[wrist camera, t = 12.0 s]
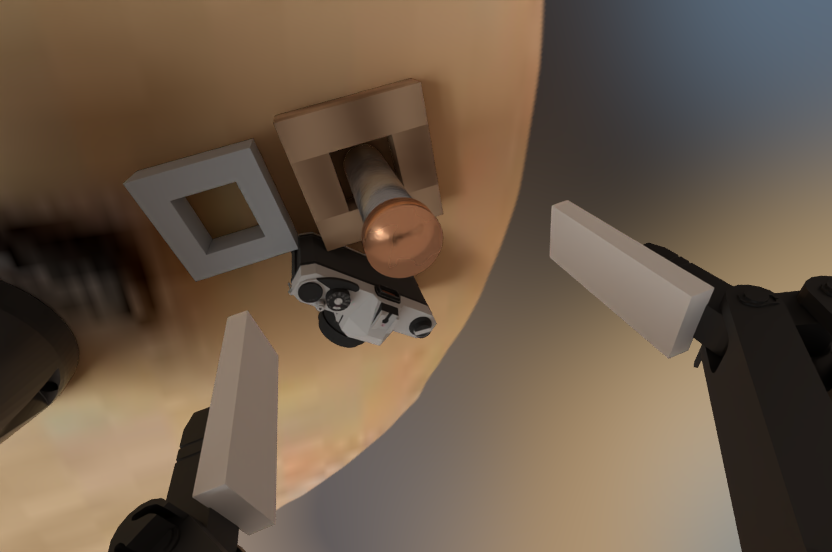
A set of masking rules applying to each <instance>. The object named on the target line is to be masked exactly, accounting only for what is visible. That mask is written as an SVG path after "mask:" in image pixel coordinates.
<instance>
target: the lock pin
mask: <svg viewBox="0 0 832 552" xmlns="http://www.w3.org/2000/svg"><path fill="white" fill-rule="evenodd" d="M344 171H345V174H346V176H347V179H348V182H349V185H350V188H351V190H352V193H353V196H354V199H355V202H356V204H357V207H358V210H359V213H360V216H361V218H362V221H363V227H362V233H361V238H362V244H363V247H364V250H365V253H366V256H367V259H368V261H369V263H370V264H371V266H372V267H373V268H374V269H375V270H376V271H378V272H379V273H381V274H383V275H385V276H388V277H393V278H406V277H410V276H414V275H416V274H418V273H420V272H422V271H424V270H425V269H427V268H428V267H429V266H430V265H431V264H432V263H433V262H434V261H435V260H436V258H437V257H438V255H439V253H440V251H441V248H442V244H443V232H442V228H441V225H440V223H439V222H438V220H437V219H436V217H435V216H434V215H433V213H432V212H431V211H430V210H429V208H428V207H427V206H426V205H424V204H423V203H422V202H420V201H418V200H416V199H412V197H411V196H410V195H409V193H408V192H407V190H406V189H405V187H404V186H403V185H402V183H401V182H400V180H399V179H398V178H397V176H396V175H395V173H394V172H393V170H392V169H391V168H390V166H389V165H388V163H387V162H386V160H385V159H384V158H383V156H382V155H381V153H380V152H379V151H378V150H377V149H376V148H375V147H373V146H370V145H367V144H361V145H357V146H355V147H353V148H351V149H350V150H349V151H348V152H347V154H346V156H345V158H344Z"/></svg>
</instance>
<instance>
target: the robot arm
mask: <svg viewBox="0 0 832 552" xmlns="http://www.w3.org/2000/svg"><path fill="white" fill-rule="evenodd" d="M550 258H551V259H552V260H554V261H555V262H556V263H557V264H558V265H559V266H561V267H562V268H563V269H564V270H565V271H566V272H568V273H569V274H570V275H571V276H572V277H573V278H575V279H576V280H577V281H578V282H579V283H581V284H582V285H583V286H584V287H585V288H586V289H587V290H589V291H590V292H591V293H592V294H594V296H596V297H597V298H598V299H599V300H600V301H602V302H603V303H604V304H605V305H606V306H607V307H609V308H610V309H611V310H612V311H613V312H615V313H616V314H617V315H618V316H619V317H620V318H622V319H623V320H624V321H625V322H626V323H627V324H629V325H630V326H631V327H632V328H633V329H634V330H636V331H637V332H638V333H639V334H640V335H641V336H643V337H644V338H645V339H646V340H647V341H649V342H650V343H651V344H652V345H653V346H654V347H655V348H657V349H658V350H659V351H660V352H662V353H663V354H664V355H665V356H666V357H667V358H671V357H674V356H676V355H678V354H681V353H683V352H685V351H688V349H689V347H690V345H691V342H692V340H693V338H695V339H696V340H698V341H699V342H700V343H701V344H702V346H701V348H700V350H699V353H698V355H697V357H696V359H695V361H694V367H696V368H698V366H699V364H700V362H701V361H702V363H703V368H704V372H705V377H706V382H707V387H708V392H709V396H710V401H711V406H712V411H713V416H714V420H715V425H716V430H717V435H718V439H719V444H720V449H721V454H722V458H723V463H724V468H725V473H726V478H727V482H728V487H729V492H730V497H731V501H732V506H733V511H734V516H735V521H736V526H737V530H738V535H739V539H740V544H741V549H742V552H832V276H817V277H811V278H810V279H808V280H807V281H806V282H805V284H804V285H803V287H802V288H801V290H800V291H793V292H783V293H773V292H771V291H770V290H767V289H764V288H762V287H758V286H752V285H737V286H732V285H730V284H728V283H726V282H724V281H723V280H721V279H719V278H717V277H716V276H714V275H712V274H710V273H709V272H707V271H705V270H703V269H702V268H700V267H698V266H696V265H695V264H693V263H689V261H688V260H686V259H684V258H682V257H678V255H677V254H675V253H674V252H672V251H670V250H668V249H666V248H665V247H661V246H658V245H654V244H651V243H646V244H644V245H642V244H640V243H638V242H637V241H635V240H634V239H631V238H630V237H628V236H627V235H625V234H624V233H622V232H620V231H619V230H617V229H615V228H614V227H612V226H610V225H608V224H607V223H605V222H603V221H602V220H600V219H598V218H597V217H595V216H593V215H592V214H590V213H588V212H587V211H585V210H583V209H582V208H580V207H578V206H577V205H575V204H573V203H571V202H570V201H568V200H566V201H563V202H560V203H558V204H555V205H552V210H551V234H550ZM78 359H79V352H78V346H77V343H76V340H75V338H74V336H73V334H72V332H71V331H70V329H69V328H68V326H67V325H66V324H65V323H64V322H63V320H62V319H61V318H60V317H59V316H58V315H57V314H56V313H54V312H53V311H52V310H51V309H50V308H48V307H47V306H46V305H44V304H43V303H42V302H40V301H39V300H37V299H36V298H34V297H32V296H31V295H29V294H27V293H25V292H24V291H22V290H20V289H18V288H16V287H14V286H11V285H9V284H7V283H5V282H2V281H0V444H1V443H2V442H4V441H5V440H6V439H8V438H9V437H10V436H11V435H13V434H14V433H15V432H16V431H18V430H19V429H20V428H22V427H23V426H24V425H25V424H27V423H28V422H29V421H30V420H32V419H33V418H34V417H36V416H37V415H38V414H39V413H41V412H42V411H43V410H45V409H46V408H47V407H48V406H49V405H51V404H52V403H53V402H54V401H55V399H56V398H57V397H58V396H59V395H60V394H61V392H62V391H63V389H64V388H65V386H66V385H67V383H68V382H69V380H70V379H71V377H72V375H73V374H74V372H75V370H76V368H77V364H78ZM277 410H278V354H277V353H276V351H275V350H274V348H273V347H272V345H271V344H270V343H269V341H268V340H267V338H266V337H265V335H264V334H263V332H262V331H261V329H260V328H259V326H258V325H257V323H256V322H255V320H254V319H253V317H252V316H251V314H250V313H249V312H248V310H247V311H244V312H241V313H238V314H235V315H232V316H229V317H228V318H227V323H226V328H225V333H224V338H223V343H222V348H221V353H220V358H219V364H218V369H217V374H216V379H215V384H214V389H213V394H212V399H211V404H210V407H208V408H206V409H203V410H200V411H198V412H195V413H194V414H193V415H192V417H191V419H190V420H189V422H188V424H187V425H186V427H185V429H184V431H183V435H182V439H181V443H180V449H179V451H178V455H177V459H176V460H177V463H175V467H174V471H173V475H172V479H171V483H170V487H169V491H168V495H167V499H166V500H164V499H162V498H159V499H151V500H149V501H147V502H145V503H143V504H141V505H140V506H138V507H137V508H136V509H135V510H134V511H132V512H131V513H130V514H129V515H128V516H127V517H126V518H125V520H124V521H123V522H122V523H121V524H120V526H119V527H118V528H117V530H116V532H115V534H114V536H113V538H112V539H111V542H110V546H109V550H108V552H246V551H245V550H244V549H243V548H242V547H240V546H239V545H237V543H238V532H239V529H240V530H241V531H243V532H245V533H246V534H247V535H251V534H253V533H256V532H258V531H261V530H263V529H265V528H268V527H270V526H272V525H275V524H276V468H277Z"/></svg>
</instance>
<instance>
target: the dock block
mask: <svg viewBox="0 0 832 552" xmlns="http://www.w3.org/2000/svg"><path fill="white" fill-rule="evenodd" d="M273 124H274V126H275V129H276V131H277V133H278V136H279V138H280V141H281V143H282V145H283V148H284V150H285V152H286V155H287V157H288V159H289V162H290V164H291V166H292V169H293V171H294V174H295V176H296V178H297V181H298V183H299V185H300V188H301V190H302V192H303V195H304V197H305V199H306V202H307V204H308V207H309V209H310V211H311V214H312V216H313V218H314V221H315V223H316V225H317V228H318V230H319V232H320V235H321V237H322V240H323V242H324V244H325V247H326V249H327V251H330V250H333V249H337V248H340V247H343V246H346V245H349V244H352V243H355V242H358V241H361V240H362V238H361V233H362V227H363V221H362V218H361V216H360V213H359V210H358V207H357V204H356V202H355V199H354V197H352V198H349V199H345V196H344V193H343V191H342V188H341V185H340V182H339V179H338V176H337V173H336V170H335V168H334V165H333V162H332V159H331V156H330V152H334V151H337V150H340V149H344V148H347V147H351V146H354V145H358V144H361V143H364V142H368V141H371V140H375V139H378V138H382V137H385V136H387V138H388V142H389V146H390V150H391V154H392V159H393V163H394V167H395V171H396V175H397V178H398V179H399V180H400V182H401V183H402V185H403V186H404V187H405V189H406V190H407V192H408V193H409V195H410V196H411V197H412V199H416V200H418V201H420V202H422V203H423V204H424V205H426V206H427V207H428V208H429V210H430V211H431V212H432V213H433V215H434V216H435V217H436V216H439V215H442V214H443V209H442V203H441V197H440V191H439V186H438V180H437V174H436V168H435V162H434V156H433V150H432V144H431V139H430V133H429V127H428V121H427V115H426V109H425V103H424V97H423V92H422V86H421V82H420V81H417V80H414V79H412V78H410V79H406V80H403V81H399V82H395V83H392V84H388V85H385V86H381V87H377V88H374V89H370V90H366V91H363V92H359V93H356V94H352V95H348V96H345V97H341V98H338V99H334V100H330V101H327V102H323V103H319V104H316V105H312V106H309V107H305V108H301V109H298V110H294V111H291V112H287V113H283V114H280V115H276V116H275V117H274V122H273Z"/></svg>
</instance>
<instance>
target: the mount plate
mask: <svg viewBox="0 0 832 552" xmlns="http://www.w3.org/2000/svg"><path fill="white" fill-rule="evenodd" d="M233 182H236V183H237V185H238V187H239V188H240V190H241V192H242V194H243V196H244V198H245V200H246V201H247V203H248V205H249V207H250V209H251V211H252V213H253V215H254V216H255V218H256V220H257V222H258V224H259V225H257V226H254V227H251V228H248V229H244V230H241V231H238V232H235V233H231V234H228V235H225V236H222V237H218V238H215V239H212V238H211V236H210V234H209V233H208V231H207V230H206V228H205V227H204V225H203V224H202V222H201V221H200V219H199V217H198V216H197V214H196V213H195V211H194V210H193V208H192V207H191V205H190V204H189V202H188V200H187V199H186V197H185V196H189V195H192V194H196V193H199V192H202V191H206V190H209V189H213V188H216V187H219V186H223V185H226V184H230V183H233ZM123 185H124V186H125V187H126V189H127V190H128V191H129V193H130V194H131V196H132V197H133V198H134V200H135V201H136V202H137V204H138V205H139V206H140V208H141V209H142V210H143V212H144V213H145V214H146V216H147V217H148V218H149V220H150V221H151V222H152V224H153V225H154V226H155V228H156V229H157V230H158V232H159V233H160V234H161V236H162V237H163V238H164V240H165V241H166V242H167V244H168V245H169V247H170V248H171V249H172V251H173V252H174V253H175V255H176V256H177V257H178V259H179V260H180V261H181V263H182V264H183V265H184V267H185V268H186V269H187V271H188V272H189V273H190V275H191V276H192V277H193V279H194V280H195V281H199V280H202V279H206V278H209V277H212V276H215V275H218V274H221V273H224V272H228V271H231V270H234V269H237V268H240V267H243V266H246V265H250V264H253V263H256V262H259V261H262V260H265V259H268V258H272V257H275V256H278V255H281V254H284V253H287V252H290V251H294V250H297V249H298V233H297V231H296V229H295V227H294V225H293V222H292V220H291V218H290V216H289V214H288V212H287V210H286V207H285V205H284V203H283V201H282V199H281V197H280V195H279V193H278V190H277V188H276V186H275V184H274V182H273V180H272V178H271V175H270V173H269V171H268V169H267V167H266V165H265V163H264V161H263V158H262V156H261V154H260V152H259V150H258V148H257V146H256V143H255V141H254V139H249V140H246V141H242V142H239V143H235V144H232V145H228V146H224V147H221V148H217V149H214V150H210V151H207V152H203V153H200V154H196V155H193V156H189V157H185V158H182V159H178V160H175V161H171V162H168V163H164V164H161V165H157V166H153V167H150V168H146V169H143V170H139V171H136V172H135V173H134V174H133V175H132V176H131V177H130V178H129V179H127V180H126V181H125V182H124V183H123Z"/></svg>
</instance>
